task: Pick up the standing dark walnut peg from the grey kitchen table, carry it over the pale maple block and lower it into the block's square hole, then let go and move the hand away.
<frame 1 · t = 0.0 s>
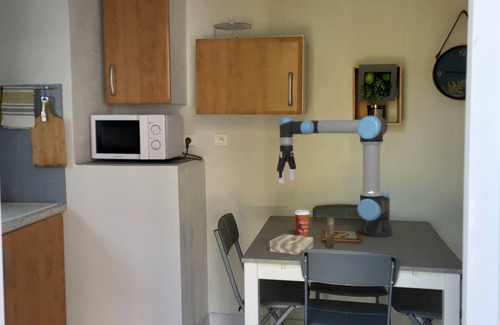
hand: (286, 181, 285), 28 cm above the table, tool pointing down, fingers open, 13 cm apart
walnut peg: (330, 247, 247), on the table
maple block: (291, 249, 246), on the table
coffee cup: (302, 238, 266), on the table
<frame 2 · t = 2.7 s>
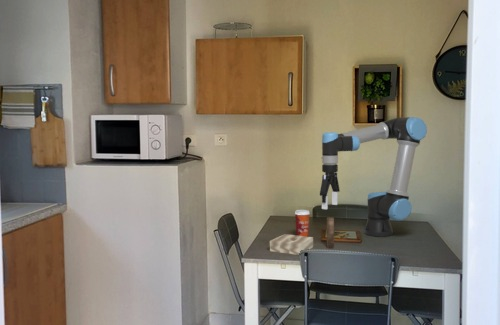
hand: (329, 206, 245), 20 cm above the table, tool pointing down, fingers open, 13 cm apart
nothing on the table moved.
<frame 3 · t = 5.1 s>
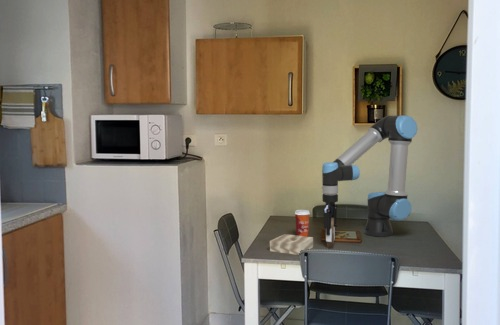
hand: (330, 240, 247), 4 cm above the table, tool pointing down, fingers closed on walnut peg, 3 cm apart
walnut peg: (330, 247, 247), on the table, touching gripper
everything else where it was.
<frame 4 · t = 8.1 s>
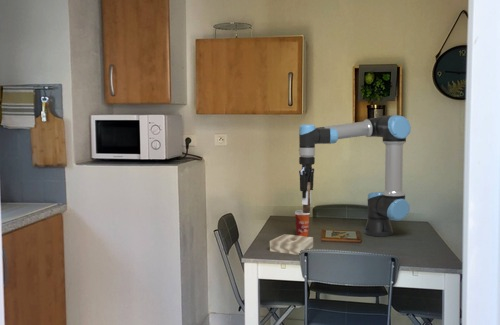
hand: (306, 203, 244), 22 cm above the table, tool pointing down, fingers closed on walnut peg, 3 cm apart
walnut peg: (306, 212, 244), point 18 cm above the table, touching gripper
everything else where it was.
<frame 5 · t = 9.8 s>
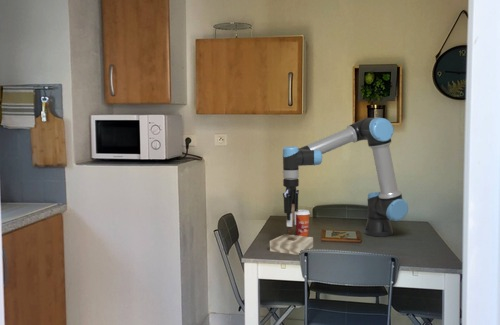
hand: (291, 225, 244), 12 cm above the table, tool pointing down, fingers closed on walnut peg, 3 cm apart
walnut peg: (291, 234, 245), point 8 cm above the table, touching gripper
everything else where it was.
when the fingers open (7 cm above the table, at t = 11.2 s): walnut peg drops 2 cm, resting in maple block.
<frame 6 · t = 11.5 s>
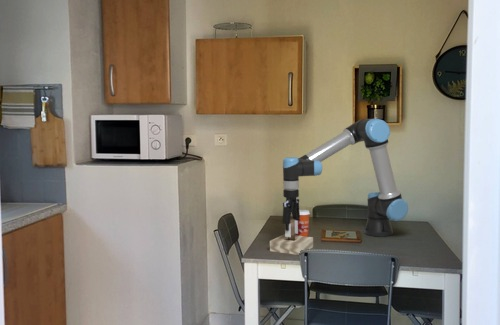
hand: (291, 234, 245), 7 cm above the table, tool pointing down, fingers open, 7 cm apart
walnut peg: (291, 249, 245), resting in maple block
everything else where it was.
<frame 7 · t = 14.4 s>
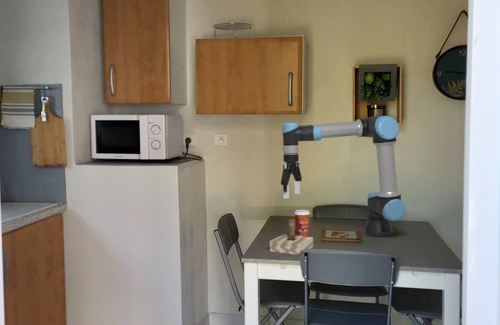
hand: (291, 196, 249), 26 cm above the table, tool pointing down, fingers open, 13 cm apart
nothing on the table moved.
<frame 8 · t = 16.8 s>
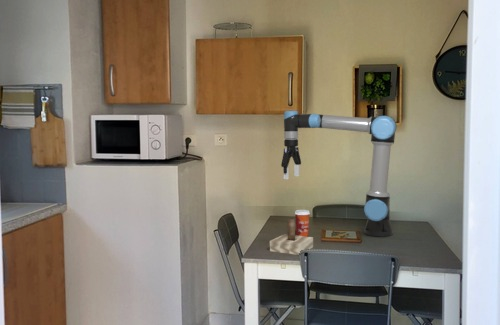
hand: (291, 177, 273), 32 cm above the table, tool pointing down, fingers open, 13 cm apart
nothing on the table moved.
at the end: walnut peg 0.1 cm off-centre on the maple block, point 0.0 cm above the maple block's base; walnut peg tilted 0°; the gripper is holding nothing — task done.
